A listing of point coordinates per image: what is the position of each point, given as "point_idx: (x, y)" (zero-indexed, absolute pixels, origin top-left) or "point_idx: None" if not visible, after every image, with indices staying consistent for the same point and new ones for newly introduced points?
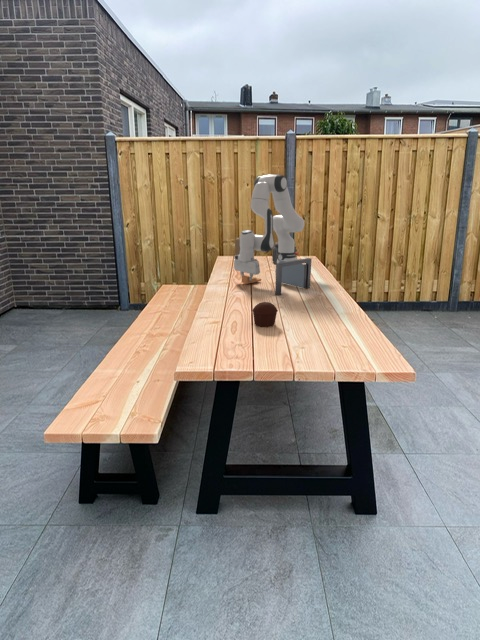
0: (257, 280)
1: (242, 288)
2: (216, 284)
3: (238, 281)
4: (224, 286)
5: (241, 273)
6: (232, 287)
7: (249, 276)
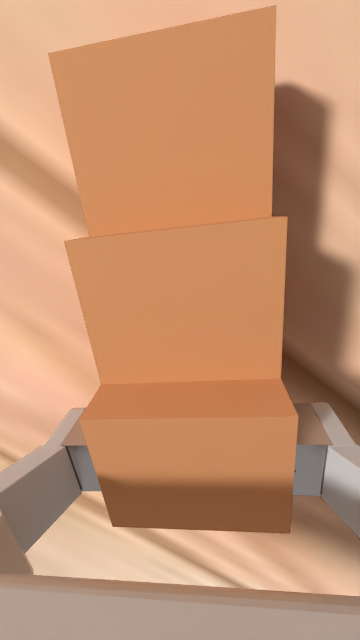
0: (268, 184)
1: (352, 531)
2: (60, 570)
3: (13, 369)
4: (163, 573)
5: (23, 546)
6: (242, 558)
7: (255, 456)
